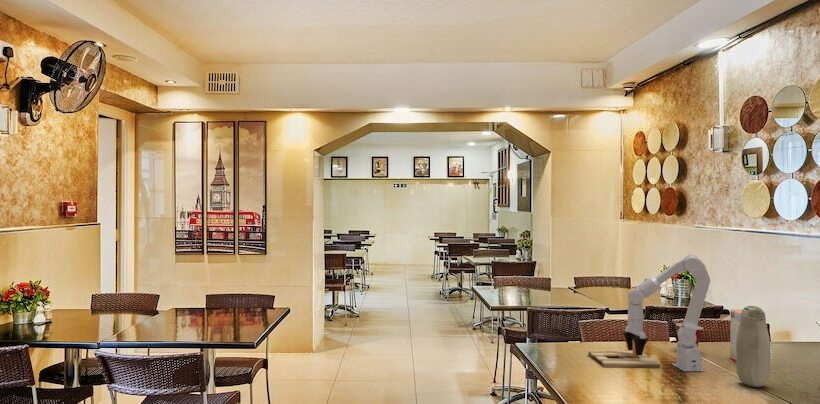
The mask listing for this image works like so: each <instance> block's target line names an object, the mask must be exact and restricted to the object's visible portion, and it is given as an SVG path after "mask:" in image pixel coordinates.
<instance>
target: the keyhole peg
mask: <svg viewBox="0 0 820 404" xmlns="http://www.w3.org/2000/svg"><path fill="white" fill-rule="evenodd" d="M632 351H633V358H639V355H636V350H635V344H634V340H633V350H632Z"/></svg>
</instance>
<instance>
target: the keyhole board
mask: <svg viewBox="0 0 820 404" xmlns="http://www.w3.org/2000/svg"><path fill="white" fill-rule="evenodd" d="M587 351H588V352H587V356H588V357H590V358H595V359H597V360H598V361H599V362H601V366H602V367H603V368H618V369H619V368H622V369H623V368H624V369H626V368H627V369H633V368H634V369H661V363H660V362H659V361H658V360H656V359H654V358H652V357H650V355H647V354H645V353H644V352H643V353H642V355H639V358H633V350H587Z"/></svg>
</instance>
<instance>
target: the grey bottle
mask: <svg viewBox="0 0 820 404" xmlns="http://www.w3.org/2000/svg"><path fill="white" fill-rule="evenodd" d="M741 310H742V312H741V318H740V325H739V329H738V333H737V338H736V362H735V365H736V369H735V370H736V373H737V374H736V375H737V377H738V379H739V380H740V382H742V383H743V384H745V385H746V386H748V387H753V388H761V387H763V386H766V384H767V383H768V381H769V379H770V375H771V374H770V373H771V372H770V371H771V370H770V369H771V339H770V335H769V331H768V327H767V321H766V319H767V318H766V313H765V312H764V309H762V308H761V307H759V306H756V305H748V306H744V307H743V308H742V309H741Z"/></svg>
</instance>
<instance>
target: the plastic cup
mask: <svg viewBox="0 0 820 404" xmlns="http://www.w3.org/2000/svg"><path fill="white" fill-rule="evenodd" d="M682 324H683V322H682V323H681V322H680V323H679V322H678V323H676V324H675V325H676V330H678V329H679V328H680V327H681V326H682ZM703 330H704V327H701V326H699V325H697V330H696V338H697V339H696V342H695V343H696V344H697V348H698V346H699V343H700V339H701V338H700V337H701V334H702V332H703Z"/></svg>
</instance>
